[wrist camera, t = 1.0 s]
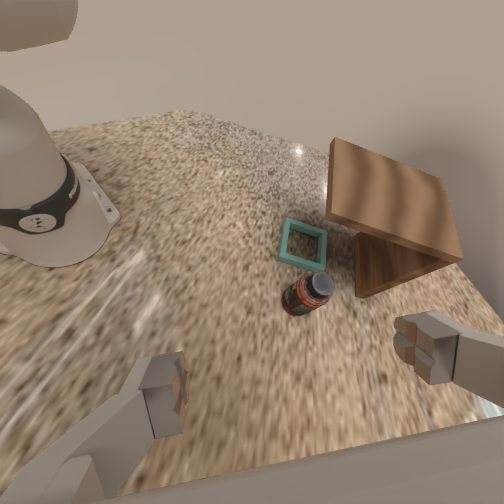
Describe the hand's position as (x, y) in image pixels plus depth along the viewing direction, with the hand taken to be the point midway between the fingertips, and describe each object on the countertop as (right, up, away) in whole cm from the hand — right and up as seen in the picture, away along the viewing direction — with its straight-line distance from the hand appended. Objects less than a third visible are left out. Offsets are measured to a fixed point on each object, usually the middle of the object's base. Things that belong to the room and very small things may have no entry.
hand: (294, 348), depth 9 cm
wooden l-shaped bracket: (+15, +3, +46) cm, 48 cm away
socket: (+10, +5, +45) cm, 46 cm away
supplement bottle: (+7, -6, +39) cm, 40 cm away
